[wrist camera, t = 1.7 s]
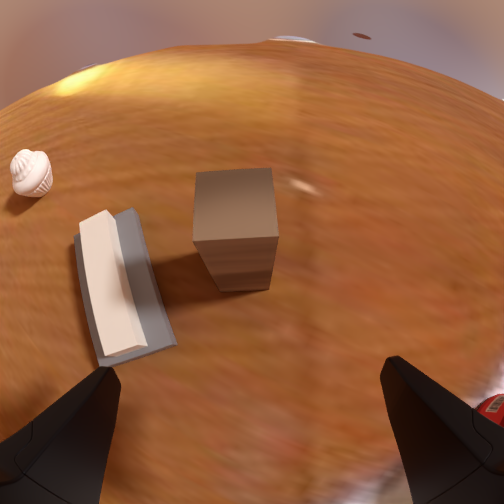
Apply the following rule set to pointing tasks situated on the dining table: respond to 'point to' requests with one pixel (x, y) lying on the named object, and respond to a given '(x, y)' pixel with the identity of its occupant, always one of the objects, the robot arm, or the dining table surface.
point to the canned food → (494, 409)
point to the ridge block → (120, 289)
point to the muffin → (31, 173)
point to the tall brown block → (236, 227)
